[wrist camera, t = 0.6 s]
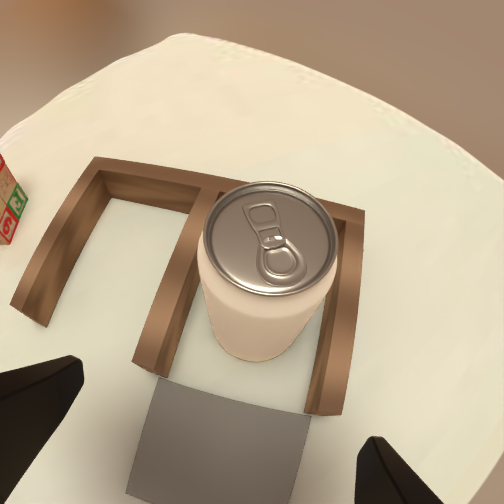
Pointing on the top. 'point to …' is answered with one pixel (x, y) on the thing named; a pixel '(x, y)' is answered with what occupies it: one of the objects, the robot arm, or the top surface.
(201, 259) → the can
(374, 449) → the robot arm
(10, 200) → the stack of blocks
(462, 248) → the top surface
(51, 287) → the shelf lanes
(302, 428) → the mat
